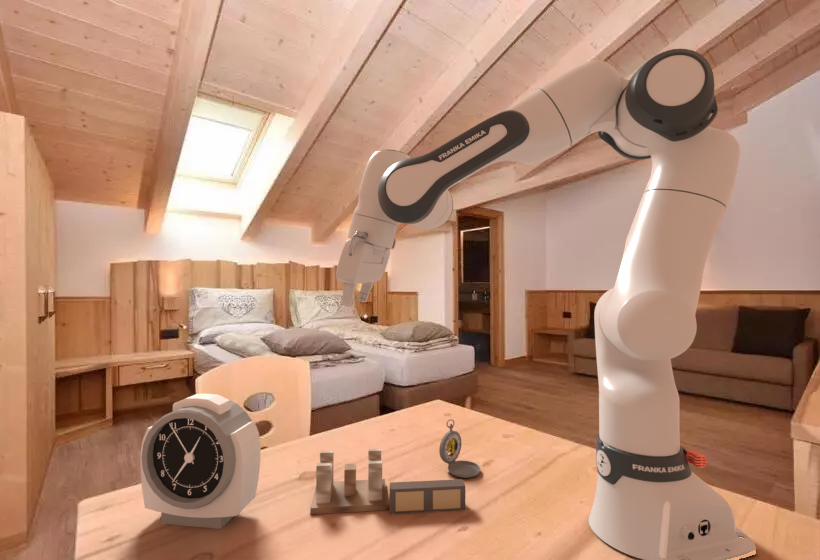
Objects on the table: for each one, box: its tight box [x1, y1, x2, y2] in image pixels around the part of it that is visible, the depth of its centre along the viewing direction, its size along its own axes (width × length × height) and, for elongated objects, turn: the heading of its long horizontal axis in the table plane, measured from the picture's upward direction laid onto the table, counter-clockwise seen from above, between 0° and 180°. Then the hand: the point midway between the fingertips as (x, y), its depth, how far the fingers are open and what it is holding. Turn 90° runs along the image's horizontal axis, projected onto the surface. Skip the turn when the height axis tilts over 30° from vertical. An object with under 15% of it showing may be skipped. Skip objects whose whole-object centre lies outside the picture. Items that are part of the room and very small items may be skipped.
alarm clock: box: [139, 393, 261, 530], centre depth 67 cm, size 18×8×20 cm, turn 82°
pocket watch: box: [438, 419, 481, 479], centre depth 84 cm, size 8×8×10 cm
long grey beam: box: [389, 478, 466, 515], centre depth 70 cm, size 13×2×4 cm, turn 96°
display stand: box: [309, 448, 388, 515], centre depth 73 cm, size 13×9×8 cm
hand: (354, 303), depth 78 cm, fingers open, 8 cm apart
